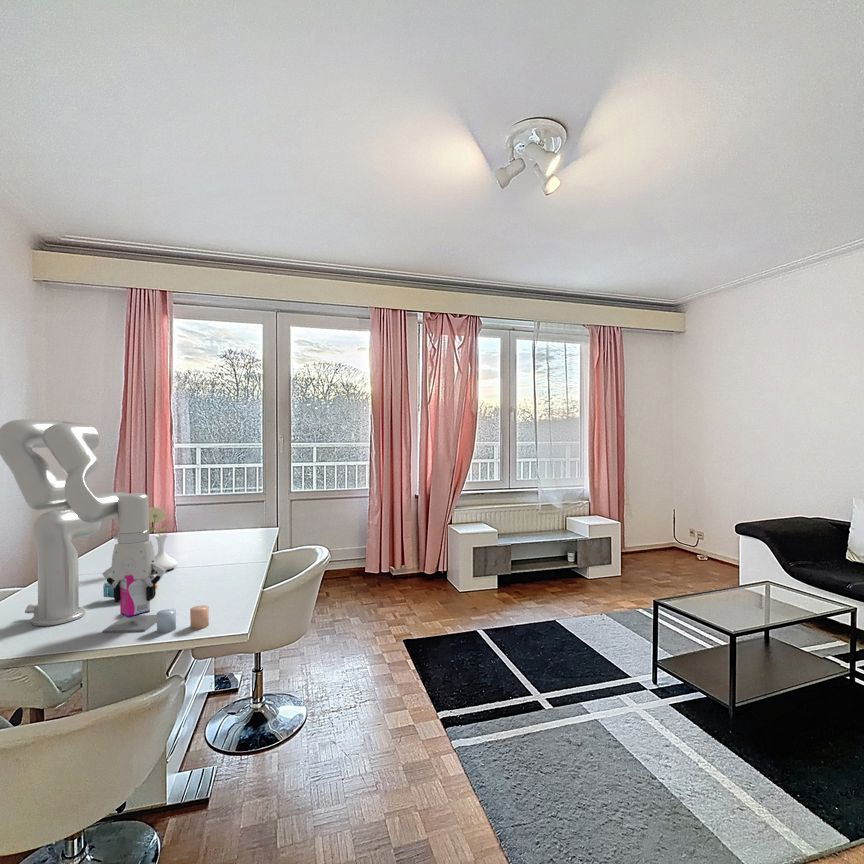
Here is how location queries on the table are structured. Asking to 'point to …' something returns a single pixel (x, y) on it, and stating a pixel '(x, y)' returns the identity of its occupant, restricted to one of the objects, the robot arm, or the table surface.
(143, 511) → the robot arm
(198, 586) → the table surface
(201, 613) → the peach dome cap
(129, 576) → the supplement box
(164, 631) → the pale blue dome knob
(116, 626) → the coaster
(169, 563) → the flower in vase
